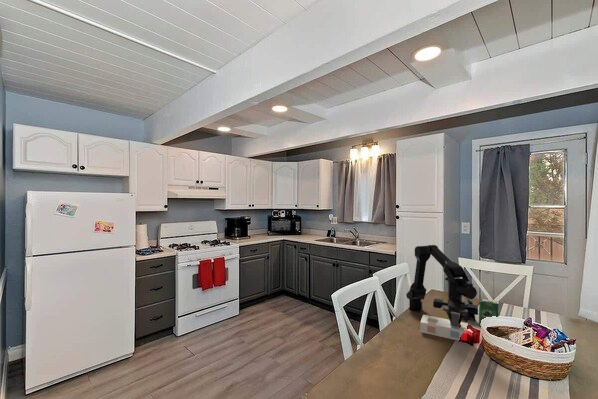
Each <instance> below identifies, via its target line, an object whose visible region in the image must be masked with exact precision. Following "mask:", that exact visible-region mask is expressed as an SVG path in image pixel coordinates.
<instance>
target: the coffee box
mask: <svg viewBox="0 0 598 399" xmlns="http://www.w3.org/2000/svg"><path fill="white" fill-rule="evenodd" d="M478 301H479V304H478V325H480V323H481V320H482V319H484V318H486V317H492V316H496V317H498V318H499V303H498V302H497V301H490V300H482V299H480V300H478Z"/></svg>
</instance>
